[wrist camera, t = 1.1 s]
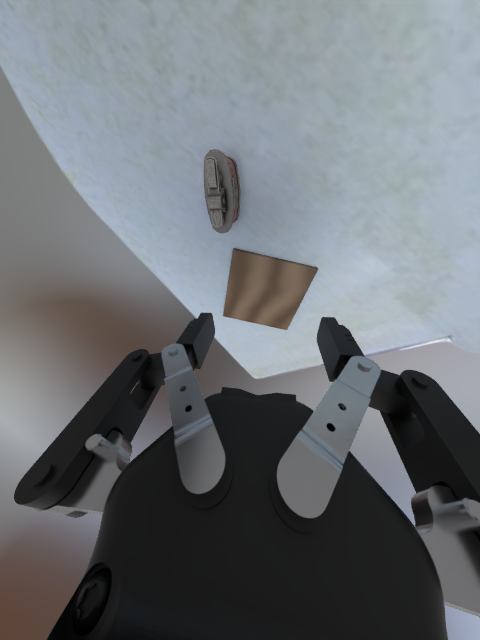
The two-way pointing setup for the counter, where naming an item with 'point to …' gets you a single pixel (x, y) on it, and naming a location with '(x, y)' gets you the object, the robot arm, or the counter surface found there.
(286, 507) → the robot arm
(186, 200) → the counter surface
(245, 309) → the board
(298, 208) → the counter surface
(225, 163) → the lighter
